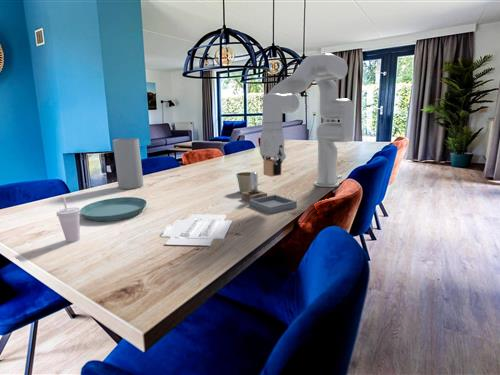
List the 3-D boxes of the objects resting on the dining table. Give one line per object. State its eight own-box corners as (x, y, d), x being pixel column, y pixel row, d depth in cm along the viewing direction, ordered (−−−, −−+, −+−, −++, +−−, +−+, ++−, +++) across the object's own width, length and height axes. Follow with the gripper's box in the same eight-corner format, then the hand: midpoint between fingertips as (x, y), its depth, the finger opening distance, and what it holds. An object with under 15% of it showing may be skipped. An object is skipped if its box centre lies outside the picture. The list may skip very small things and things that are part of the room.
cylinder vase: (113, 188, 165) (107, 140, 159) (130, 183, 176) (125, 138, 170) (132, 190, 160) (126, 140, 154) (148, 184, 171) (143, 138, 165)
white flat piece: (235, 217, 119) (235, 207, 118) (221, 252, 92) (220, 240, 91) (182, 216, 121) (181, 207, 120) (153, 250, 94) (152, 239, 93)
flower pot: (253, 194, 148) (253, 176, 146) (234, 193, 150) (233, 175, 148) (257, 189, 157) (257, 172, 155) (238, 188, 159) (238, 171, 157)
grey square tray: (275, 199, 138) (275, 194, 138) (296, 207, 127) (296, 201, 127) (249, 205, 131) (249, 199, 130) (270, 213, 120) (269, 207, 119)
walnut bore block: (256, 195, 145) (256, 189, 144) (267, 199, 138) (267, 193, 138) (241, 198, 140) (241, 192, 140) (252, 203, 134) (252, 196, 133)
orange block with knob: (273, 173, 129) (273, 158, 128) (281, 175, 125) (281, 159, 124) (263, 174, 126) (263, 159, 125) (271, 176, 122) (271, 161, 121)
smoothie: (67, 236, 102) (60, 194, 98) (88, 235, 102) (81, 193, 99) (57, 244, 96) (49, 200, 92) (79, 243, 96) (72, 199, 93)
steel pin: (255, 198, 141) (254, 171, 139) (259, 199, 139) (258, 172, 136) (249, 199, 140) (249, 172, 137) (253, 200, 137) (253, 173, 135)
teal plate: (85, 208, 132) (83, 201, 131) (145, 201, 140) (145, 194, 139) (76, 228, 110) (75, 219, 109) (149, 218, 118) (148, 210, 117)
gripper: (251, 126, 126) (252, 171, 130) (279, 128, 112) (278, 178, 117) (266, 126, 130) (266, 169, 134) (294, 127, 117) (294, 175, 121)
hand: (272, 173), depth 126 cm, fingers closed on orange block with knob, 5 cm apart
